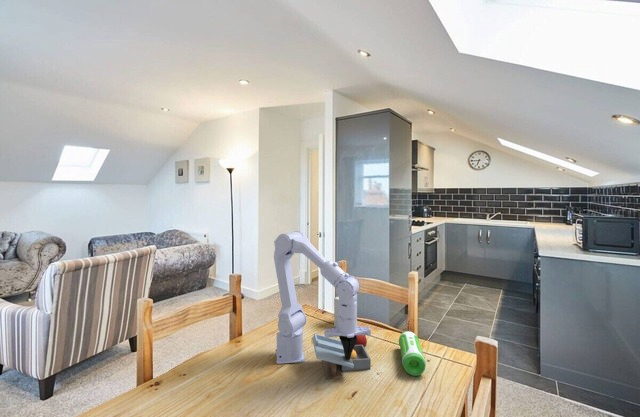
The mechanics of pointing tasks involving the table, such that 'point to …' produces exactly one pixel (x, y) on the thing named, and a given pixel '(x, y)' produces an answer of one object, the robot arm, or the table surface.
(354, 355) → the ball
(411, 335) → the speaker
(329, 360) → the light blue flat piece
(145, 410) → the table surface
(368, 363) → the grey open box
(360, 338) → the kendama
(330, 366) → the stand
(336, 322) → the supplement box
